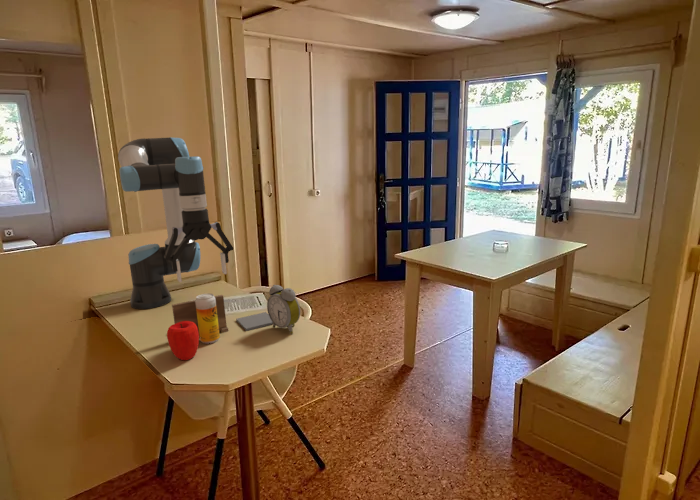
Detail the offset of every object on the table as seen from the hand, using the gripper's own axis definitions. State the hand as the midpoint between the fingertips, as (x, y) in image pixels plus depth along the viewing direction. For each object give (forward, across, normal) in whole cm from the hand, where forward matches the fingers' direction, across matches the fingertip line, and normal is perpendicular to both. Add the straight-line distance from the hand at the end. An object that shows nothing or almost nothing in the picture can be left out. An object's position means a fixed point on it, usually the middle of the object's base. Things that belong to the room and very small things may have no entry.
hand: (202, 277), depth 141 cm
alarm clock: (+22, +24, -6) cm, 33 cm away
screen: (+21, -1, +7) cm, 22 cm away
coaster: (+21, +18, +6) cm, 28 cm away
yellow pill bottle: (+21, 0, 0) cm, 21 cm away
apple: (+22, -9, -8) cm, 25 cm away
